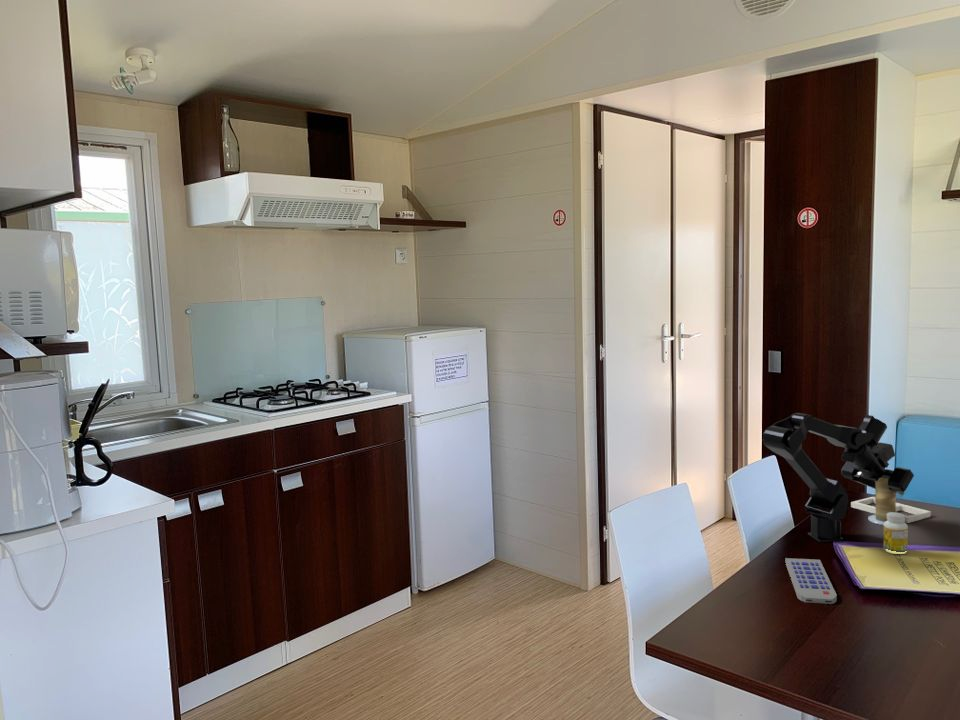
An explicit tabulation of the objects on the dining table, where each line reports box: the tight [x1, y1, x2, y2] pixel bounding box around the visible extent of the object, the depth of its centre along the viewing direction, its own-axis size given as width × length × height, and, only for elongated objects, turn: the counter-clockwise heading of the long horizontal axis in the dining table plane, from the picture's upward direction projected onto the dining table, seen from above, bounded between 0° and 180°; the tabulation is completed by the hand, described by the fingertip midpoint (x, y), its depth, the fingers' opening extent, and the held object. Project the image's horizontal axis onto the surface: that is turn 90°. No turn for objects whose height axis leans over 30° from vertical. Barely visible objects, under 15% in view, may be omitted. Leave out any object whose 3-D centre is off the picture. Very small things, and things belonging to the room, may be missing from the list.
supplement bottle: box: [883, 512, 909, 552], centre depth 188 cm, size 5×5×10 cm
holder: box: [850, 496, 932, 524], centre depth 218 cm, size 10×18×2 cm, turn 26°
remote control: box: [784, 557, 838, 605], centre depth 172 cm, size 8×23×2 cm, turn 165°
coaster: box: [867, 514, 906, 526], centre depth 211 cm, size 9×9×1 cm
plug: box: [874, 468, 897, 522], centre depth 210 cm, size 5×5×14 cm
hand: (889, 490), depth 211 cm, fingers open, 8 cm apart
